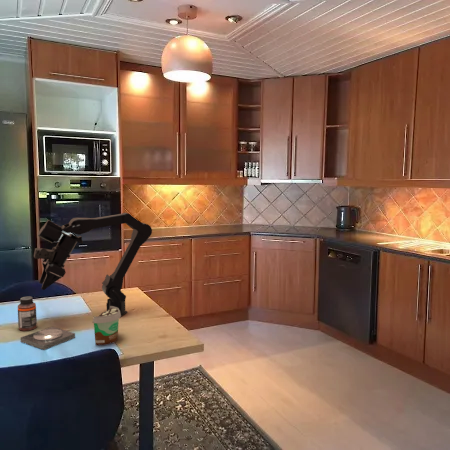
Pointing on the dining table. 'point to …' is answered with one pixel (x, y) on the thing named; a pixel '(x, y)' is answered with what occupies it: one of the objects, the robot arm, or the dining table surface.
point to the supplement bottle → (27, 314)
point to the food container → (106, 326)
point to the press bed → (47, 338)
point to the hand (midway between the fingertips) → (41, 286)
